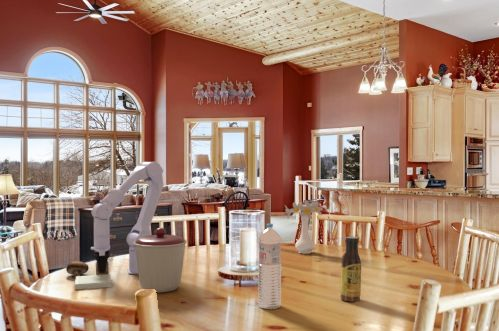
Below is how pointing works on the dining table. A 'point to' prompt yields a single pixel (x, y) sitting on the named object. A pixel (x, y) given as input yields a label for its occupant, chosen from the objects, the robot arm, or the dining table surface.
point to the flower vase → (304, 224)
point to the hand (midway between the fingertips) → (102, 271)
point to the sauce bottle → (351, 271)
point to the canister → (160, 260)
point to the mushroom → (77, 268)
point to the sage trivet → (92, 281)
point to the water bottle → (269, 269)
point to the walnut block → (105, 271)
